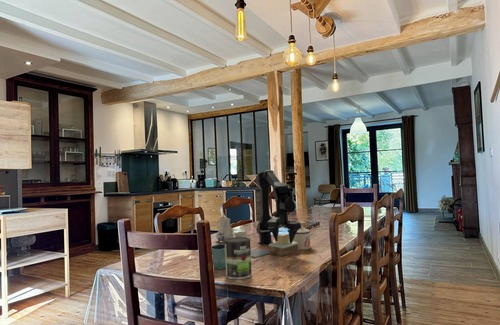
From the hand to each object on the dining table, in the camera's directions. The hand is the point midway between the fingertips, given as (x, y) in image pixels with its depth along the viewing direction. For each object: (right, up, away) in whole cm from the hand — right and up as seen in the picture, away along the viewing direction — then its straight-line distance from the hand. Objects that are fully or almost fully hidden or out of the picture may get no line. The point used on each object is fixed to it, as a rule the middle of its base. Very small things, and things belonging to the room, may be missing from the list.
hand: (283, 242), depth 164 cm
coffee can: (-21, -5, -33) cm, 39 cm away
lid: (0, -1, 0) cm, 1 cm away
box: (0, -5, 0) cm, 5 cm away
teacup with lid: (+11, -5, +10) cm, 16 cm away
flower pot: (-29, -6, -20) cm, 36 cm away
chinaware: (-29, -9, +41) cm, 51 cm away
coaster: (-14, -6, +1) cm, 15 cm away
